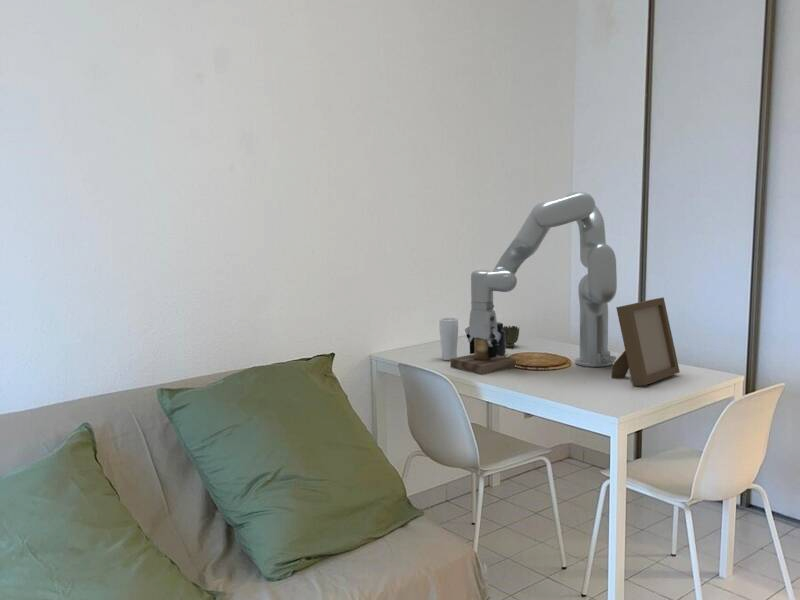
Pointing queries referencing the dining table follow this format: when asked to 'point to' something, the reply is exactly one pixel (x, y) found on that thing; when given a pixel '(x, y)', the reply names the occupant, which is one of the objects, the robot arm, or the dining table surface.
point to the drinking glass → (449, 337)
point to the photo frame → (645, 343)
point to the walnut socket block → (482, 364)
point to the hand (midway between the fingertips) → (482, 355)
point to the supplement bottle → (501, 340)
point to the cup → (511, 335)
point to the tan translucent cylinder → (481, 349)
